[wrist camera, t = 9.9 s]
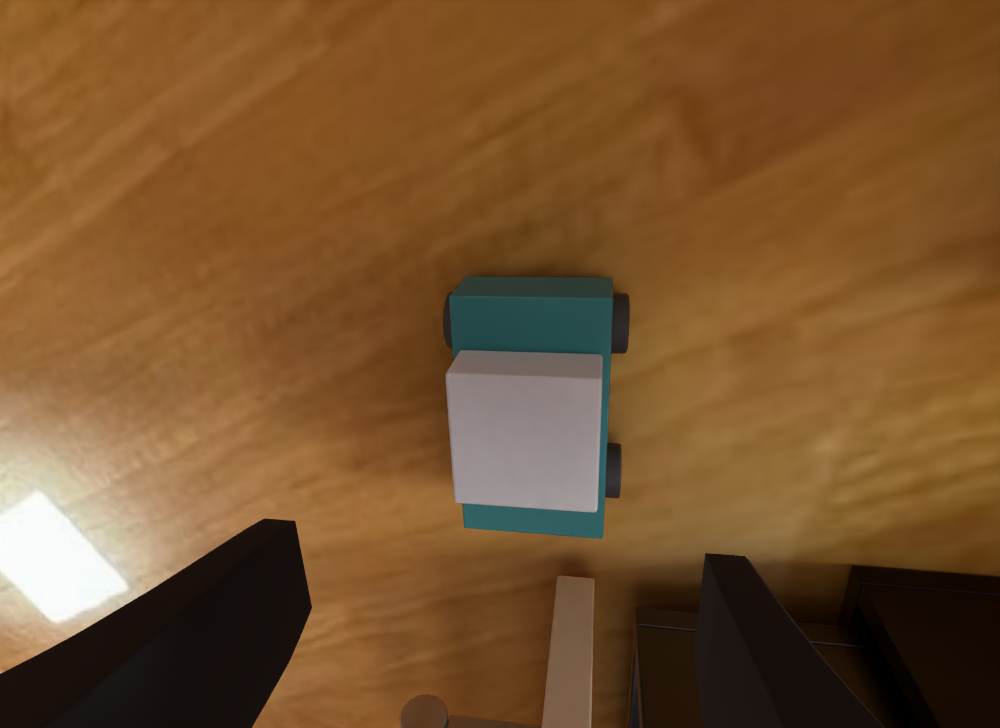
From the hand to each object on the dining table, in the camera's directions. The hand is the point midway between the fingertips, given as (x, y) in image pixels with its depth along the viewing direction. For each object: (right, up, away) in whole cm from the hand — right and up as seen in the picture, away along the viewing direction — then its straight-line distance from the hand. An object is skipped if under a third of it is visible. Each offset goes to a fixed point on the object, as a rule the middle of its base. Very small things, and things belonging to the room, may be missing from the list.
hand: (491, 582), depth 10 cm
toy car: (+1, +3, +8) cm, 8 cm away
